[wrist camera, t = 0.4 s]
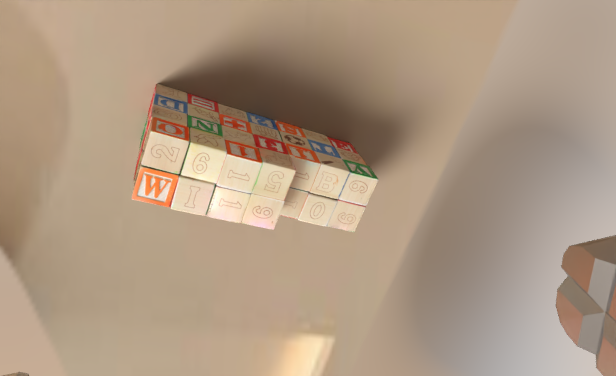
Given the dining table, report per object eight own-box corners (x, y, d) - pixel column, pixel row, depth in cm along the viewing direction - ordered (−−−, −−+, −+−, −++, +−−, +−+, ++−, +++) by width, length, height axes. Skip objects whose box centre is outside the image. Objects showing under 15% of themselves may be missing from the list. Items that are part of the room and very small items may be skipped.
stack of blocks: (352, 141, 59) (391, 195, 48) (330, 190, 61) (363, 252, 51) (154, 82, 51) (149, 130, 41) (138, 140, 54) (129, 200, 43)
